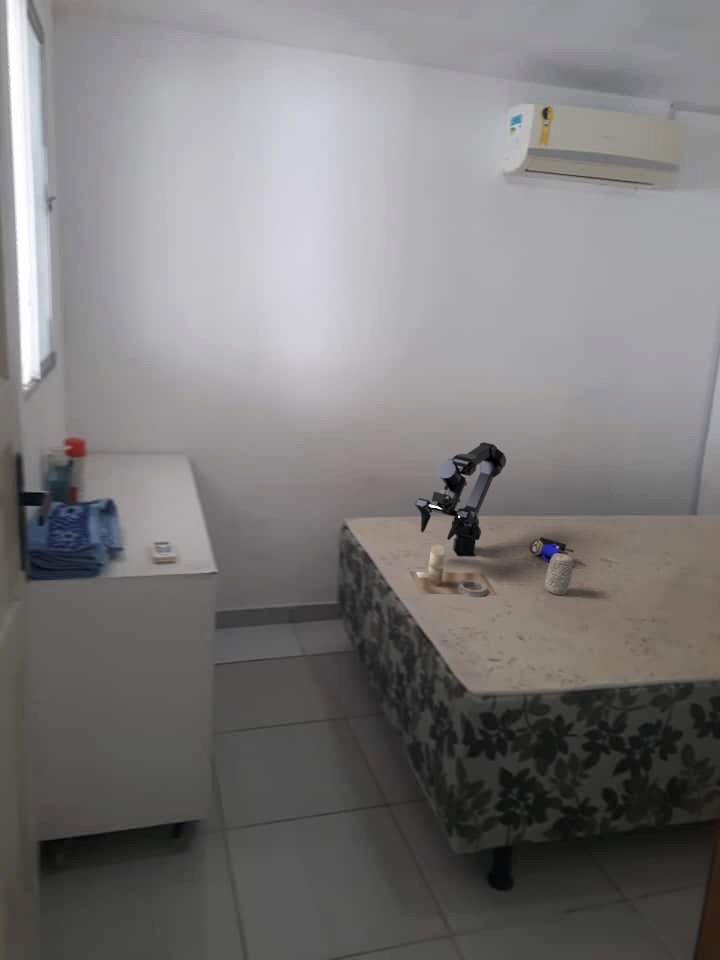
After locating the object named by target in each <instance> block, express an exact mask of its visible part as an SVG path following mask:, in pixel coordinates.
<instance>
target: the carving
mask: <svg viewBox="0 0 720 960" xmlns="http://www.w3.org/2000/svg"><path fill="white" fill-rule="evenodd" d="M573 564H574V559H573V558H572V557H571V556H569V554H560V553H556V554H554V555H553V556H552V558H551V560H550V562H548V568H547V571H546V575H545V581H544V582H545V583H544V584H545V585H544V586H545V588H546V590H547V591H549V592H550V593H551V594H554V595H559V596H563V595H565V594H566V592H567V590H568V588H569V586H570V583H571V581H572V580H571V579H572V575H573Z"/></svg>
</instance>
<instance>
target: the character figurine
mask: <svg viewBox="0 0 720 960" xmlns="http://www.w3.org/2000/svg"><path fill="white" fill-rule="evenodd" d="M566 546H567V544H565V543H562V542H559V541H556V540H553V539H550V538H549V539H548V538H546V537H542V536H540V538H539V539H534V540H532V541H530V543H529V544H528V551H529V552H530V553H531V554H533V555H534V556H535V557H539V558H543V559H544V560H545V562H546V563H550V560H551V558H552V556H553V555H554V554H556V553H560V554H565V555H569V552H570V553H574V550H572V549H569V548H567V547H566Z"/></svg>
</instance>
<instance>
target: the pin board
mask: <svg viewBox="0 0 720 960" xmlns="http://www.w3.org/2000/svg"><path fill="white" fill-rule="evenodd" d="M409 573H410V576H411V578H412V581H413V582H414V584H415V587H416V589H417V591H418V593H419V594H421V595H423V594H425V595H430V594H431V595H461V596H462V595H463V596H464V595H466V596H469V597H483V596H498V594H497V592H496V591H495V589H494V588H493V586H492V585H491V583H490V582H489V580H488V579H487V577H486V575H485V574H484V573H482V572H481V573H480V572H479V573H478V572H453V571H451V572H449V571H448V572H446V571H443V575H442V583H441V586H439V587H432V586H429V585H428V584H427V578H428V571H416V570H414V571H413V570H412V571H409Z"/></svg>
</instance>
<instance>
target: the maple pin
mask: <svg viewBox="0 0 720 960" xmlns="http://www.w3.org/2000/svg"><path fill="white" fill-rule="evenodd" d="M446 549H447V548H446V546H444V545H442V544H432V545H431V547H430V553H429V562H428V570H427V572H428V578H427V584H428V585H429V586H432V587H439V586H441V583H442V575H443V572H444V568H445V567H444V566H445V557H446Z"/></svg>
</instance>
